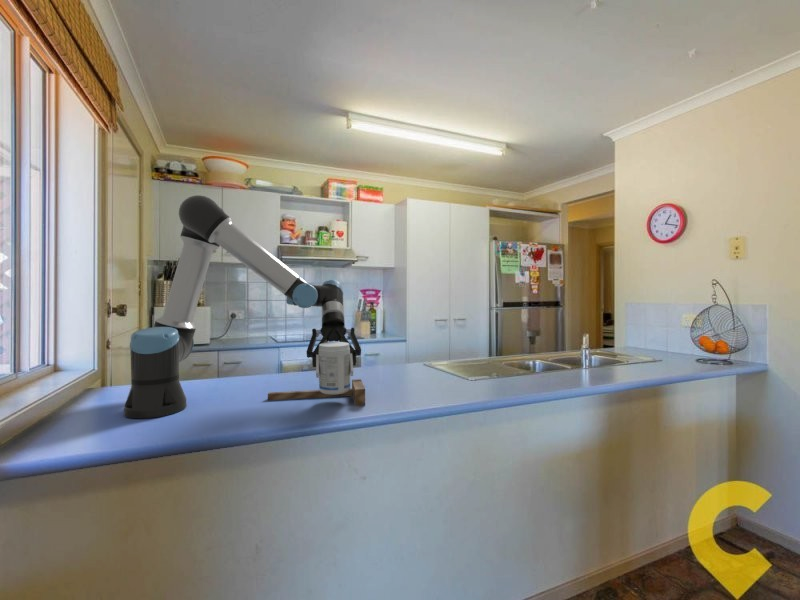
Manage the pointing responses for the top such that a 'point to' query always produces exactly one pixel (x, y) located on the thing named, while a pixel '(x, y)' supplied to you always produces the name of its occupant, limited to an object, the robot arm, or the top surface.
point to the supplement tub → (334, 367)
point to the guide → (356, 392)
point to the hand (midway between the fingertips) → (334, 374)
